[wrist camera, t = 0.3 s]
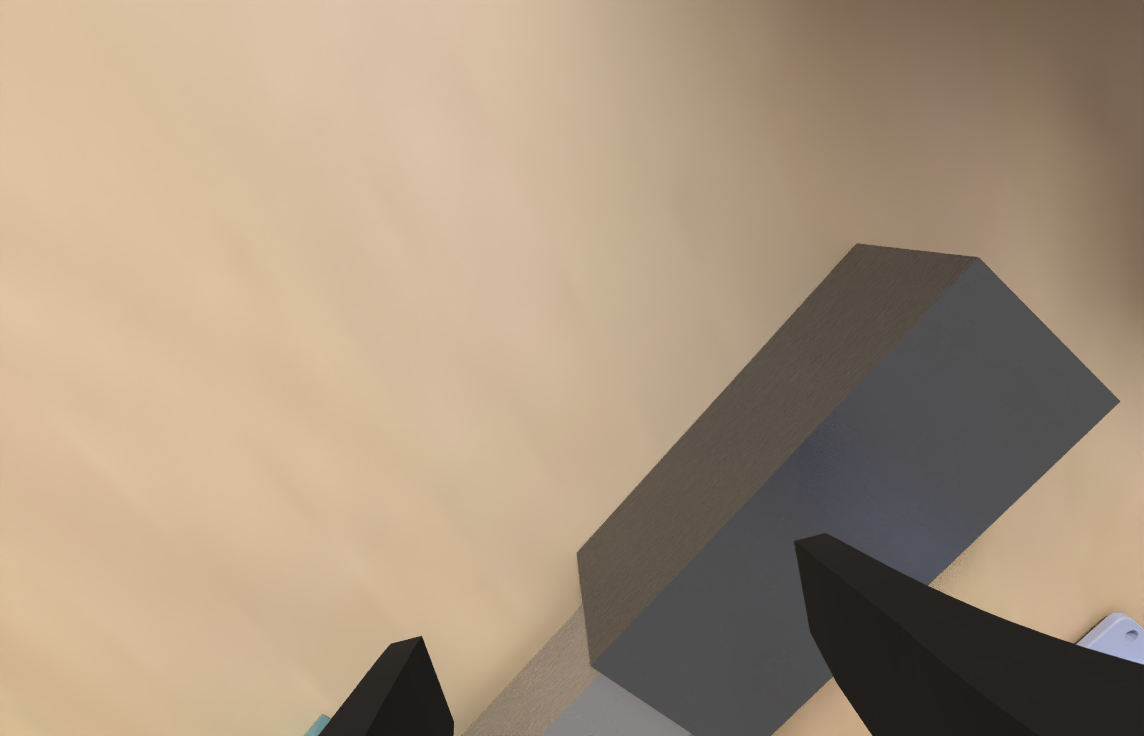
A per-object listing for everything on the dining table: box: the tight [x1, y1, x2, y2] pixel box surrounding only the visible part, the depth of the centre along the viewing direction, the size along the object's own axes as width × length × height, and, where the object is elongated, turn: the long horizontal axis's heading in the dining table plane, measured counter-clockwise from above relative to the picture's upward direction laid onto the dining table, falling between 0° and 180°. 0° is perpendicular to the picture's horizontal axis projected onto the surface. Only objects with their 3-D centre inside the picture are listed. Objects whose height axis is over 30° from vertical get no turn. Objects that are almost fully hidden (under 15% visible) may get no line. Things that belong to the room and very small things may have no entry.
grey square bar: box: [462, 605, 691, 736], centre depth 20 cm, size 4×18×4 cm, turn 140°
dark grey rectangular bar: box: [577, 244, 1120, 736], centre depth 19 cm, size 6×14×6 cm, turn 140°
